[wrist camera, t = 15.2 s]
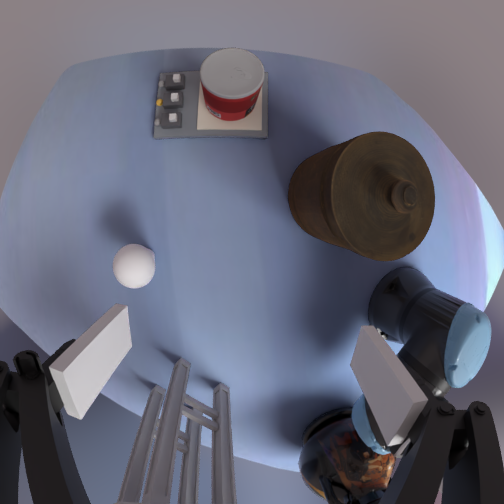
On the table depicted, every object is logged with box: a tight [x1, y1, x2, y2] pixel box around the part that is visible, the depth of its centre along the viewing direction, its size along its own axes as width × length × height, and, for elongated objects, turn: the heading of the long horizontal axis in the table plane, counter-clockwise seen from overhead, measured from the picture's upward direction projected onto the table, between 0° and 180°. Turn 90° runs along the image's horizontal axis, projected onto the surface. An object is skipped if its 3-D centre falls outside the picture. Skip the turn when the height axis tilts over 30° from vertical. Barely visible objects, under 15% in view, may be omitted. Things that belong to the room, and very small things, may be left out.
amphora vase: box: [298, 408, 396, 504], centre depth 40 cm, size 22×22×28 cm
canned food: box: [200, 48, 265, 121], centre depth 33 cm, size 8×8×11 cm
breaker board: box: [154, 71, 268, 140], centre depth 38 cm, size 18×12×4 cm, turn 89°
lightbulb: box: [113, 244, 155, 288], centre depth 38 cm, size 6×6×11 cm
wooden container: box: [288, 132, 435, 261], centre depth 34 cm, size 15×15×22 cm
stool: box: [115, 357, 237, 504], centre depth 31 cm, size 16×16×35 cm
